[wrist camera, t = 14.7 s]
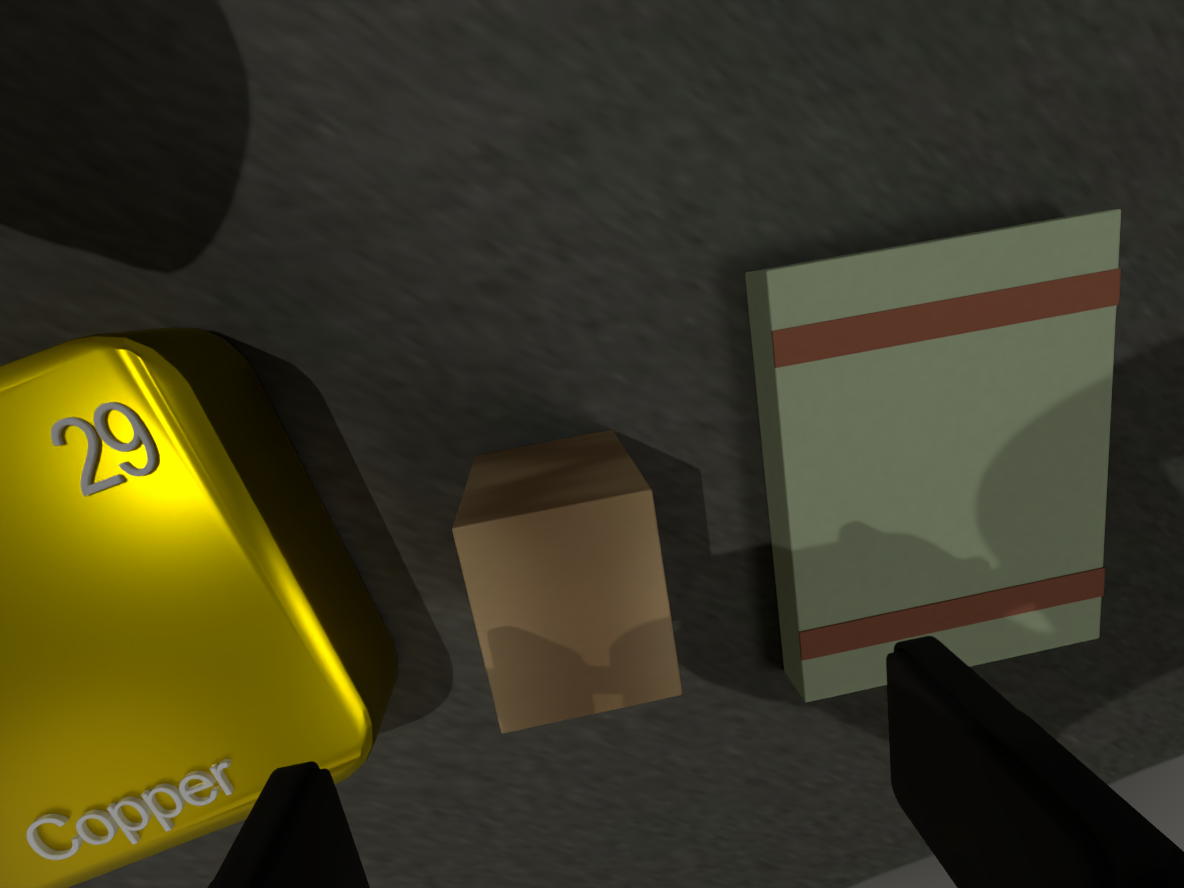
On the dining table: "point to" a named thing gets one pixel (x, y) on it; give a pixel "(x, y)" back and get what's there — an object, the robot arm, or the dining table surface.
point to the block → (566, 581)
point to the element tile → (163, 606)
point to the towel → (937, 445)
